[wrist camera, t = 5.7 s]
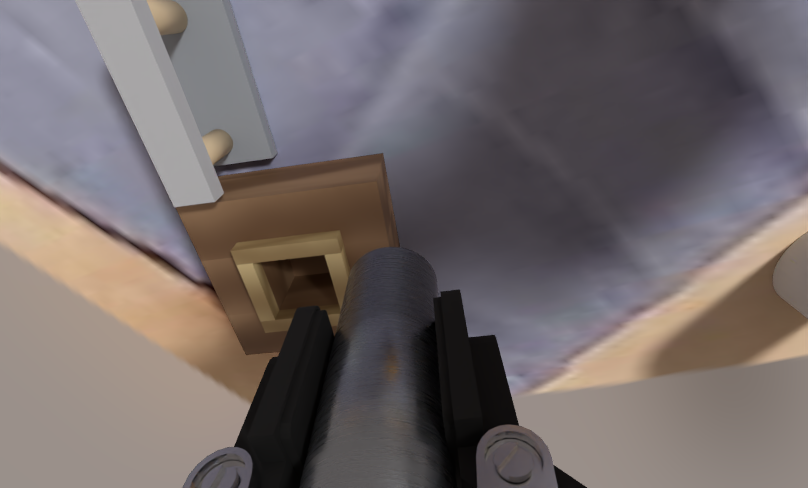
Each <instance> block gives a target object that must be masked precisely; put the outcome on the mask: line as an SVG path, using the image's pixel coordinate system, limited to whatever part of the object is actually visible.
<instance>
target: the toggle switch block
mask: <svg viewBox="0 0 808 488" xmlns="http://www.w3.org/2000/svg"><path fill="white" fill-rule="evenodd" d="M218 179H219V181H220V184H221V186H222V189H223V191H224V194H223V195H222V196H221V197H220V198H219V199H218V200H217V201H216V202H211V203H203V204H196V205H188V206H181V207H176V209H177V211H178V214H179V216H180V218H181V220H182V222H183V224H184V226H185V228H186V230H187V232H188V234H189V237H190V239H191V241H192V243H193V245H194V247H195V249H196V251H197V253H198V255H199V257H200V260H201V262H202V264H203V266H204V268H205V270H206V272H207V274H208V276H209V278H210V281H211V283H212V285H213V287H214V289H215V291H216V293H217V295H218V297H219V299H220V301H221V304H222V306H223V308H224V310H225V312H226V314H227V316H228V318H229V320H230V322H231V324H232V327H233V329H234V331H235V333H236V335H237V337H238V339H239V341H240V343H241V345H242V347H243V350H244V352H245V354H246V355H249V354H260V353H271V352H280V350H281V348H282V345H283V342H284V340H285V337H286V335H287V332H288V329H289V327H290V324H291V322H292V319H293V317H294V314H295V311H296V309H297V308H299V307H307V306H316V305H317V306H319V307H320V310H326V311H327V314H328V317H329V320H330V323H331V326H332V330H333V333H334V336H335V333H336V329H337V324H338V320H339V316H340V312H341V307H342V303H343V299H344V295H345V290H346V286H347V282H348V278H349V274H350V271H351V269H352V267H353V265H354V264H355V262H356V261H357V260H358V259H359V258H361V257H362V256H363V255H365V254H366V253H368V252H370V251H372V250H375V249H378V248H383V247H400V245H399V239H398V234H397V228H396V223H395V217H394V212H393V206H392V201H391V195H390V190H389V184H388V178H387V173H386V167H385V162H384V156H383V153H382V154H375V155H367V156H360V157H353V158H346V159H339V160H331V161H324V162H317V163H310V164H303V165H296V166H288V167H281V168H274V169H267V170H260V171H253V172H245V173H238V174H231V175H224V176H218Z"/></svg>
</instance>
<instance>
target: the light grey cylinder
mask: <svg viewBox="0 0 808 488" xmlns="http://www.w3.org/2000/svg"><path fill="white" fill-rule="evenodd" d="M773 286H774V289H775V291H776V293H777V294H778V295H779V296H780V297H781V298H782V299H783V300H785V301H786V302H787V303H788V304H790V305H791V306H792V307H793V308H795V309H796V310H797V311H799V312H800V313H801V314H802V315H804V316H805V317H806V318H807V319H808V232H807V233H805V234H804V235H802V236H801V237H800V238H798V239H797V240H796V241H795V242H794V243H793V244H792V245H791V246H790V247H789V248H788V249H787V250H786V251H785V252H784V253H783V255H782V256H781V258H780V259H779V261H778V263H777V265H776V267H775V269H774V273H773Z"/></svg>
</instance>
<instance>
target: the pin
mask: <svg viewBox="0 0 808 488" xmlns="http://www.w3.org/2000/svg"><path fill="white" fill-rule="evenodd" d="M436 297H438V288H437V279H436V275H435V272H434V270H433V268H432V266H431V265H430V264H429V263H428V261H427V260H425V259H424V258H423V257H422V256H420V255H419V254H417V253H415V252H413V251H411V250H408V249H405V248H400V247H383V248H378V249H375V250H372V251H370V252H368V253H366V254H365V255H363V256H362V257H361V258H359V259H358V260H357V261H356V262H355V264H354V265H353V267H352V269H351V271H350V274H349V278H348V282H347V286H346V290H345V295H344V299H343V303H342V307H341V312H340V316H339V320H338V324H337V329H336V333H335V337H334V341H333V346H332V350H331V354H330V358H329V363H328V367H327V371H326V375H325V380H324V384H323V388H322V392H321V397H320V401H319V405H318V409H317V414H316V418H315V422H314V426H313V431H312V435H311V439H310V443H309V448H308V452H307V456H306V460H305V465H304V469H303V473H302V477H301V481H300V486H299V488H457V484H456V474H455V466H454V462H453V459H452V457H451V455H450V454H449V452H448V451H447V444H446V438H445V431H444V424H443V416H442V405H441V392H440V379H439V366H438V354H437V341H436V328H435V315H434V302H433V298H436Z"/></svg>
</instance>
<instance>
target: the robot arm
mask: <svg viewBox="0 0 808 488" xmlns="http://www.w3.org/2000/svg"><path fill="white" fill-rule="evenodd" d="M440 293H441V297H436V298H433V302H434V315H435V328H436V341H437V354H438V366H439V379H440V392H441V405H442V416H443V424H444V431H445V438H446V444H447V451H448V452H449V454H450V455H451V457H452V459H453V462H454V466H455V474H456V484H457V488H587V487H585V486H584V485H582V484H581V483H579V482H578V481H576V480H575V479H573V478H572V477H571V476H569V475H568V474H566V473H564V472H563V471H562V470H560V469H558V468H557V467H556V466H554V465H553V461H552V457H551V454H550V452H549V449H548V447H547V446H546V444H545V443H544V442H543V440H542V439H541V438H540V437H539V436H537V435H536V434H535V433H534V432H532V431H531V430H529V429H526V428H524V427H522V426H519V424H518V420H517V416H516V412H515V409H514V405H513V401H512V397H511V393H510V389H509V385H508V382H507V378H506V374H505V370H504V366H503V363H502V359H501V355H500V351H499V347H498V343H497V340H496V337H495V335H489V336H479V337H469V338H468V332H467V327H466V321H465V315H464V310H463V304H462V298H461V293H460V290H451V291H442V292H440ZM334 337H335V336H334V333H333V330H332V326H331V323H330V320H329V317H328V314H327V311H326V310H320V307H319V306H317V305H316V306H307V307H299V308H297V309H296V311H295V314H294V317H293V319H292V322H291V324H290V327H289V329H288V332H287V335H286V337H285V340H284V342H283V345H282V348H281V350H280V353H279V355H278V357H273V358H272V359H270V361H269V363H268V365H267V367H266V370H265V372H264V375H263V377H262V380H261V382H260V384H259V387H258V389H257V392H256V394H255V397H254V399H253V402H252V404H251V407H250V409H249V411H248V414H247V416H246V419H245V422H244V424H243V426H242V429H241V431H240V434H239V436H238V438H237V441H236V443H235V446H234V447H227V448H224V449H221V450H218V451H216V452H214V453H212V454H211V455H209V456H207V457H206V458H205V459H204V460H203V461H201V462H200V463H199V464H198V465H197V466H196V467H195V468H194V469H193V471H192V472H191V473H190V474H189V476H188V478H187V480H186V482H185V484H184V486H183V488H299V486H300V481H301V477H302V473H303V469H304V465H305V460H306V456H307V452H308V448H309V443H310V439H311V435H312V431H313V426H314V422H315V418H316V414H317V409H318V405H319V401H320V397H321V392H322V388H323V384H324V380H325V375H326V371H327V367H328V363H329V358H330V354H331V350H332V346H333V341H334Z"/></svg>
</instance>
